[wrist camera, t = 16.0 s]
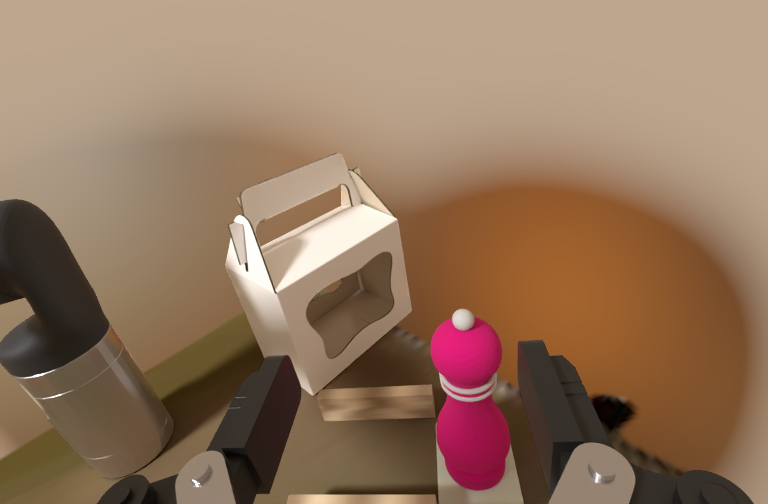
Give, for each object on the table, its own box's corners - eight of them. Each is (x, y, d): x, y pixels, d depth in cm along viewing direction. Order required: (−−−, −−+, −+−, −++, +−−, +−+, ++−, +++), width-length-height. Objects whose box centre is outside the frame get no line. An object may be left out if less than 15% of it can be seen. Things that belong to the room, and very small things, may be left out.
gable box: (361, 288, 73) (327, 144, 60) (414, 310, 64) (388, 147, 51) (262, 359, 60) (191, 193, 47) (312, 398, 51) (242, 209, 38)
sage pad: (439, 506, 37) (438, 505, 37) (435, 424, 44) (435, 423, 44) (524, 506, 35) (524, 505, 35) (505, 422, 43) (505, 421, 43)
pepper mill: (456, 507, 36) (436, 354, 27) (430, 442, 42) (407, 299, 33) (524, 482, 37) (528, 325, 28) (489, 422, 43) (483, 277, 34)
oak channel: (296, 533, 37) (284, 511, 35) (327, 411, 49) (319, 389, 47) (440, 536, 34) (435, 512, 33) (435, 407, 47) (431, 384, 45)
